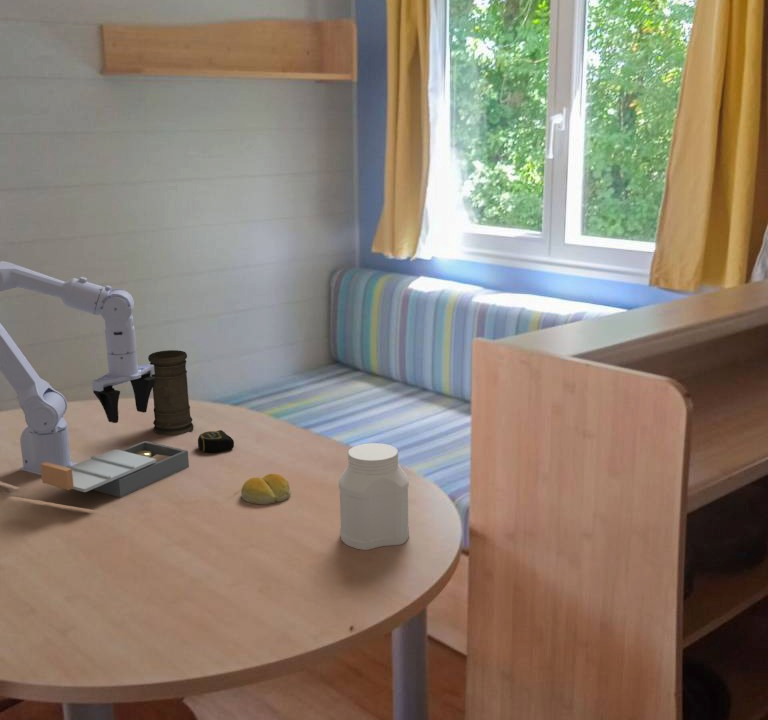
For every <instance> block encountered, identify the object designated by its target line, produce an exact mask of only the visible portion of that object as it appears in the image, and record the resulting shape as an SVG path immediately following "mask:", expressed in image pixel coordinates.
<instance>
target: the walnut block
mask: <svg viewBox="0 0 768 720" xmlns="http://www.w3.org/2000/svg"><path fill="white" fill-rule="evenodd" d="M168 457H170V456H165V455H158V454H157V455H155V456H153V457H151V458H154V459H156V462H159V461H161V460H163V459H166V458H168ZM156 462H155V463H156ZM153 464H154V463H153ZM150 465H152V464H150ZM148 466H149V465H148ZM146 467H147V466H146Z"/></svg>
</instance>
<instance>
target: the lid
mask: <svg viewBox="0 0 768 720" xmlns="http://www.w3.org/2000/svg"><path fill="white" fill-rule="evenodd" d="M121 450H122V449H116V448H114V449H112V450H109V451H107V452H103V453H102V454H98V455H97V456H96V455H91V456H90V458H88V459H85V460H84V461H83V460H82V461H81V462H78V464H75V465H73V466H71V465H68V466H67V467H63V466H59V465H55V464H52V463H48V462H44V463H42V464H40V465H41V473H42V475H41V480H42V484H46V485H49V486H53V487H56V488H60V489H64V490H67V491H70V490H75V491H79V492H82V493H87V492H89V491H91V490H92V489H94V488H96V487H99V486H101V485H103V484H106V483H108V482H110V481H113V480H115V479H117V478H120V477H122V476H125V475H127V474H129V473H132V472H134V471H136V470H139V469H141V468H143V467H146V466H148V465H150V464H153V463H155V462H156V459H154V458H150V457H146V456H142V455H137V454H133V453H129V452H125V451H121ZM92 491H93V490H92Z"/></svg>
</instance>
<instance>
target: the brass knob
mask: <svg viewBox="0 0 768 720" xmlns="http://www.w3.org/2000/svg"><path fill="white" fill-rule="evenodd" d="M135 454H137V455H142V456H146V457H150V458H151V457H152V455H151V452H150V451H139V452H136V453H135ZM143 468H145V467H143Z"/></svg>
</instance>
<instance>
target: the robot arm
mask: <svg viewBox="0 0 768 720" xmlns="http://www.w3.org/2000/svg"><path fill="white" fill-rule="evenodd" d="M16 288H20V289H24V290H28V291H32V292H36V293H39V294H40V293H41V294H43V295H44V294H45V295H49V296H52V297H56V298H59V299H60V300H61V301H62V302H63V305H64V306H65V307H67V308H71V309H75V310H78V311H80V312H85V313H88V314H90V315H95V316H101V317H102V319H103V320H104V325H105V326H104V327H105V329H104V334H105V335H104V336H105V337H104V338H105V345H106V346H105V347H106V357H107V358H106V359H107V367H108V373H106V374H104V375H102V376H100V377H98V378H96V379H94V380H92V381H91V384H92V385H91V386H92V392H93V394H94V395H95V397H96V398H97V399H98V401H99V402H100V404H101V406H102V408H103V409H104V412H105V416H106V418H107V421H108V422H109V423H112V424H113V423H114V424H117V423H119V419H120V418H119V399H120V395H121V391H120V390H117V389H115V388H114V387H115V386H117V385H120V384H124V383H128V382H130V384H131V387H132V391H133V395H134V400H135V401H134V402H135V409H136V411H137V412H139V413H144V414H145V413H147V410H148V404H149V400H150V395H151V393H152V391H153V385H154V384H155V382H156V381H155V377H152V376H151V375H153V374H155V372H154V365H150V363H147V364H142V365H139V362H138V361H139V360H138V351H137V350H138V349H137V348H138V347H137V337H136V328H135V326H134V324H135V321H134V317H133V314H132V312H133V311H134V309H135V300H134V298H133V296H132V294H131V293H130V292H128V291H127V290H124V289H123V288H121V287H119V288H114V289H113V288H112V286H110V285H106V286H103V285H100V284H96V283H92V282H90V281H88V278H87V277H84V276H80V277H79V278H75V277H73V278H71V279H69V280H67V281H63V280H62V279H58V278H55V277H53V276H49V275H46V274H44V273H41V272H38V271H35V270H32V269H29V268H27V267H23V266H21V265H18V264H15V263H12V262H9V261H2V260H1V261H0V292H4V291H8V290H11V289H12V290H13V289H16ZM0 372H1V374H2V375H3V376H4V378H5V380H7V382H8V383H9V385H10V387H12V389H13V390H14V392H15V393H16V395H17V400H18V405H19V407H20V409H21V410H22V411H23V415H24V419H25V423H26V425H27V427H25V428H24V429H23V431H22V433H21V435H20V438H19V440H20V443H19V444H20V449H21V450H20V451H21V452H20V453H21V459H22V467H20V468H19V471H25V472H29V473H32V474H36V475H39V476H42V473H41V465H40V464H42V463H44V462H48V463H52V464H55V465H59V466H63V467H67V466H68V465H71V466H73V465H75V464H78V463H79V462H78V463H77V462H74V461H72V457H71V448H70V447H71V446H70V439H69V438H70V436H69V429H68V422H67V421H66V419H65V418H64V415H65V413H66V411H67V409H68V402H67V399H66V397H65V396H64V395H63V394H62V393H61V392H60V391H57V390H55V388H53V386H52V385H50V383H49V382H48V381H46V380H44V379H43V378H42V377H40V376H39V374H38V373H37V371H36V370H35V369H34V367H33V366H32V365H31V363H30V362H29V361H28V359H27V358H26V357H25V355H24V354H23V353H22V351H21V349H20V348H19V347H18V345H17V343H16V342H15V341H14V339H13V338H12V337H11V335H10V334H9V333H8V331H7V330H6V329H5V327H4V326H3V325H2V323H1V322H0Z"/></svg>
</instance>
